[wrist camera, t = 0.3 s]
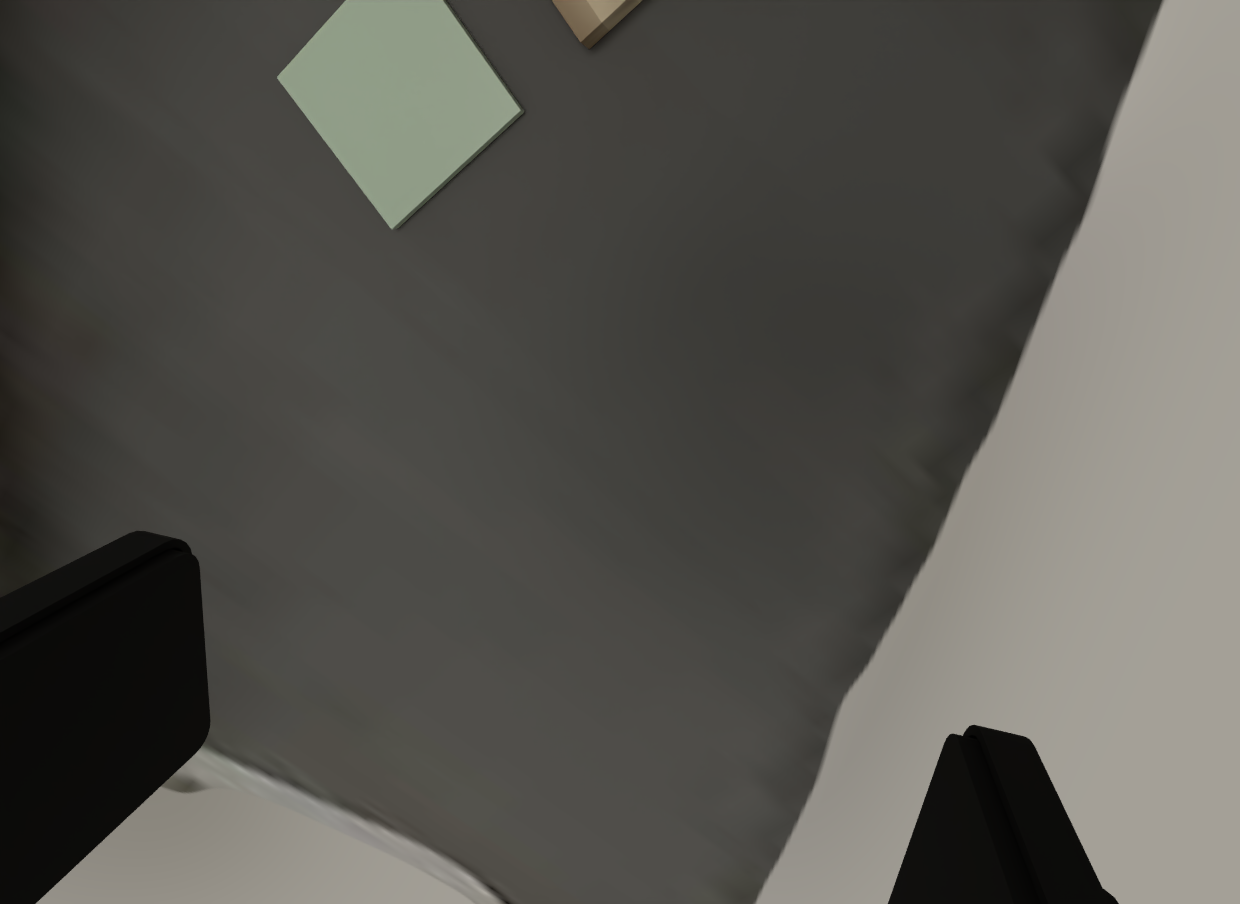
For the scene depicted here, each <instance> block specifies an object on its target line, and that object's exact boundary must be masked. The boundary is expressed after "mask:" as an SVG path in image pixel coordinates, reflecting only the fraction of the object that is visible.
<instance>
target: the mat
mask: <svg viewBox="0 0 1240 904" xmlns="http://www.w3.org/2000/svg"><path fill="white" fill-rule="evenodd" d="M277 78H278V80H279V81H280V82H281V84H282V85H283V86H284V88H285V89H286V90H287V92H288V93H289V94H290V96H291V97H292V98H293V100H294V101H295V102H296V104H297V105H298V106H299V107H300V109H301V110H302V111H303V113H304V114H305V115H306V117H307V118H308V119H309V121H310V122H311V123H312V125H313V126H314V127H315V129H316V130H317V131H318V133H319V134H320V135H321V137H322V138H323V139H324V141H325V142H326V143H327V145H328V146H329V147H330V148H331V150H332V151H333V152H334V154H335V155H336V156H337V158H338V159H339V160H340V162H341V163H342V164H343V166H344V167H345V168H346V170H347V171H348V172H349V174H350V175H351V176H352V178H353V179H354V180H355V182H356V183H357V184H358V186H359V187H360V188H361V189H362V191H363V192H364V193H365V195H366V196H367V197H368V199H369V200H370V201H371V203H372V204H373V205H374V207H375V208H376V209H377V211H378V212H379V213H380V215H381V216H382V217H383V219H384V220H385V221H386V223H387V224H388V225H389V227H390V228H391V229H398V228H399V227H400V226H401V225H402V224H403V223H404V222H405V221H407V220H408V219H409V218H410V217H411V216H412V215H413V214H414V213H415V212H416V211H417V210H418V209H420V208H421V207H422V206H423V205H424V204H425V203H426V202H427V201H428V200H429V199H430V198H432V197H433V196H434V195H435V194H436V193H437V192H438V191H439V190H440V189H441V188H442V187H444V186H445V185H446V184H447V183H448V182H449V181H450V180H451V179H452V178H453V177H454V176H455V175H457V174H458V173H459V172H460V171H461V170H462V169H463V168H464V167H465V166H466V165H467V164H469V163H470V162H471V161H472V160H473V159H474V158H475V157H476V156H477V155H478V154H479V153H481V152H482V151H483V150H484V149H485V148H486V147H487V146H488V145H489V144H490V143H491V142H492V141H494V140H495V139H496V138H497V137H498V136H499V135H500V134H501V133H502V132H503V131H504V130H506V129H507V128H508V127H509V126H510V125H511V124H512V123H513V122H514V121H515V120H516V119H518V118H519V117H520V116H521V115H522V114H523V113H524V112H525V111H524V110H523V109H522V107H521V106H520V104H519V103H518V102H517V100H516V99H515V97H514V96H513V94H512V93H511V92H510V90H509V89H508V87H507V86H506V85H505V83H504V82H503V80H502V79H501V77H500V76H499V75H498V73H497V72H496V70H495V69H494V68H493V66H492V65H491V63H490V62H489V60H488V59H487V58H486V56H485V55H484V53H483V52H482V51H481V49H480V48H479V46H478V45H477V44H476V42H475V41H474V39H473V38H472V36H471V35H470V34H469V32H468V31H467V29H466V28H465V27H464V25H463V24H462V22H461V21H460V19H459V18H458V17H457V15H456V14H455V12H454V11H453V10H452V8H451V7H450V5H449V4H448V2H447V1H446V0H346V1H345V2H344V3H343V4H342V5H341V6H340V7H339V9H338V10H337V11H336V12H335V13H334V14H333V15H332V16H331V18H330V19H329V20H328V21H327V22H326V23H325V24H324V25H323V26H322V28H321V29H320V30H319V31H318V32H317V33H316V34H315V35H314V36H313V38H312V39H311V40H310V41H309V42H308V43H307V44H306V45H305V47H304V48H303V49H302V50H301V51H300V52H299V53H298V54H297V55H296V57H295V58H294V59H293V60H292V61H291V62H290V63H289V64H288V65H287V67H286V68H285V69H284V70H283V71H282V72H281V73H280V74H279V76H278V77H277Z"/></svg>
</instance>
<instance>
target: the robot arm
mask: <svg viewBox="0 0 1240 904" xmlns="http://www.w3.org/2000/svg"><path fill="white" fill-rule="evenodd" d="M209 728H210V709H209V695H208V680H207V666H206V652H205V638H204V623H203V609H202V595H201V580H200V567H199V562H198V560H197V558H196V557H195V556H194V555H192V553H191V549H190V547H189V546H188V544H187V543H186V542H184V541H182V540H180V539H176V538H171V537H167V536H163V535H159V534H154V533H150V532H146V531H135V532H132V533H129V534H127V535H125V536H123V537H121V538H119V539H117V540H115V541H113V542H111V543H109V544H107V545H105V546H103V547H101V548H99V549H97V550H95V551H93V552H91V553H89V554H87V555H85V556H83V557H81V558H79V559H77V560H75V561H73V562H71V563H69V564H67V565H65V566H63V567H61V568H59V569H57V570H55V571H53V572H51V573H49V574H47V575H45V576H43V577H41V578H39V579H37V580H35V581H33V582H31V583H29V584H27V585H25V586H23V587H21V588H19V589H17V590H15V591H13V592H11V593H9V594H7V595H5V596H3V597H1V598H0V904H36V902H38V901H39V900H40V899H41V898H42V897H43V896H44V895H45V894H46V893H47V892H48V891H49V890H51V889H52V888H53V887H54V886H55V885H56V884H57V883H58V882H59V881H60V880H61V879H62V878H63V877H64V876H65V875H67V874H68V873H69V872H70V871H71V870H72V869H73V868H74V867H75V866H76V865H77V864H78V863H79V862H80V861H81V860H83V859H84V858H85V857H86V856H87V855H88V854H89V853H90V852H91V851H92V850H93V849H94V848H95V847H96V846H97V845H98V844H100V843H101V842H102V841H103V840H104V839H105V838H106V837H107V836H108V835H109V834H110V833H111V832H112V831H113V830H114V829H116V827H118V826H119V825H120V824H121V823H122V822H123V821H124V820H125V819H126V818H127V817H128V816H129V815H130V814H131V813H133V812H134V811H135V810H136V809H137V808H138V807H139V806H140V805H141V804H142V803H143V802H144V801H145V800H146V799H148V798H149V796H151V795H152V794H153V793H154V792H155V791H156V790H157V789H158V788H159V787H160V786H161V785H162V784H164V783H165V782H166V781H167V780H168V779H169V778H170V777H171V776H172V775H173V774H174V773H175V772H176V771H177V770H178V769H180V768H181V767H182V766H183V765H184V764H185V763H186V762H187V761H188V760H189V759H190V758H191V757H192V756H193V755H194V754H195V753H196V752H197V751H198V750H199V749H200V748H201V746H202V745H203V743H204V742H205V739H206V737H207V735H208V732H209ZM888 904H1118V902H1117V901H1116V899H1115V898H1114V897H1113V896H1112V895H1111V894H1109V893H1108V892H1107V891H1106V890H1104V889H1103V888H1102V886H1101V884H1100V882H1099V880H1098V878H1097V876H1096V874H1095V872H1094V870H1093V867H1092V865H1091V863H1090V861H1089V859H1088V857H1087V855H1086V853H1085V851H1084V849H1083V846H1082V844H1081V842H1080V840H1079V838H1078V836H1077V834H1076V832H1075V830H1074V828H1073V826H1072V823H1071V821H1070V819H1069V817H1068V815H1067V813H1066V811H1065V809H1064V807H1063V805H1062V803H1061V800H1060V798H1059V796H1058V794H1057V792H1056V790H1055V788H1054V786H1053V784H1052V782H1051V780H1050V777H1049V775H1048V773H1047V771H1046V769H1045V767H1044V765H1043V763H1042V761H1041V759H1040V757H1039V755H1038V752H1037V750H1036V748H1035V746H1034V745H1033V743H1032V742H1031V741H1030V739H1028V738H1026V737H1024V736H1020V735H1016V734H1011V733H1007V732H1003V731H999V730H994V729H990V728H986V727H981V726H977V725H971V726H969V727H968V728H967V729H966V731H965V732H964V735H963V736H961V735H957V734H950V735H949V736H948V737H947V738H946V741H945V743H944V745H943V749H942V751H941V754H940V757H939V760H938V762H937V766H936V768H935V771H934V774H933V777H932V780H931V782H930V785H929V788H928V791H927V794H926V797H925V799H924V802H923V805H922V808H921V811H920V814H919V817H918V819H917V822H916V825H915V828H914V831H913V834H912V837H911V839H910V842H909V845H908V848H907V851H906V854H905V857H904V859H903V862H902V865H901V868H900V871H899V874H898V876H897V879H896V882H895V885H894V888H893V891H892V894H891V896H890V899H889V902H888Z"/></svg>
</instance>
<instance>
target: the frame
mask: <svg viewBox="0 0 1240 904" xmlns="http://www.w3.org/2000/svg"><path fill="white" fill-rule="evenodd" d="M552 1H553V3H554V4H555V6H556V7H557V9H558V10H559V11H560V13H561V14H562V16H563V17H564V19H565V20H566V22H567V23H568V25H569V26H570V28H571V29H572V30H573V32H574V33H575V35H576V36H577V38H578V39H579V41H580V42H581V43H582V44H583V45H584V46H586V47H587V48H588V49H590V48H591V47H592V46H594V45H595V44H596V43H597V42H598V41H599V40H600V39H601V38H602V37H603V36H604V35H606V34H607V33H608V32H609V31H610V30H611V29H612V28H613V27H614V26H615V25H616V24H617V23H619V22H620V21H621V20H622V19H623V18H624V17H625V16H626V15H627V14H628V13H629V12H631V11H632V10H633V9H634V8H635V7H636V6H637V5H638V4H639V3H640V2H641V1H642V0H552Z"/></svg>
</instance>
